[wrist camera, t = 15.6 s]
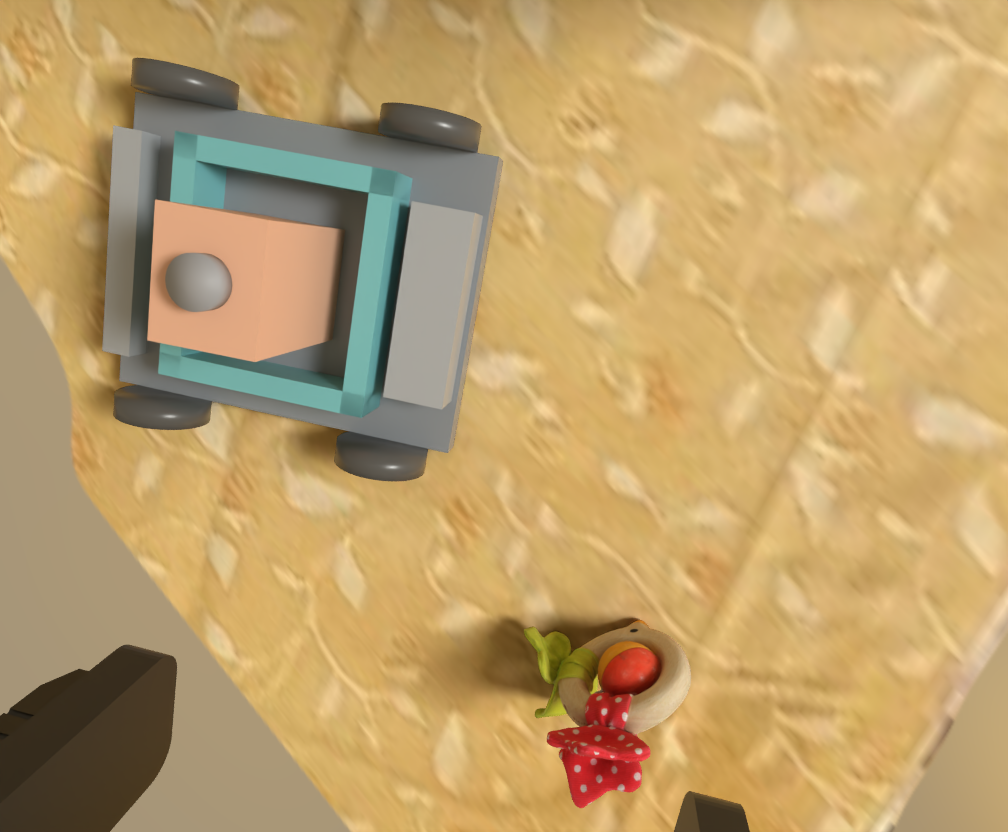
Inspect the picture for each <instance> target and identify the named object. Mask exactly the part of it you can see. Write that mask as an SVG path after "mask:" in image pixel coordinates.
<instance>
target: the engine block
mask: <svg viewBox="0 0 1008 832" xmlns="http://www.w3.org/2000/svg"><path fill="white" fill-rule="evenodd" d="M344 236H345V230H343V229H338V228H332V227H327V226H321V225H316V224H310V223H305V222H299V221H294V220H288V219H283V218H277V217H272V216H266V215H261V214H255V213H248V212H240V211H233V210H226V209H219V208H212V207H205V206H198V205H191V204H184V203H177V202H169V201H162V200H155V210H154V228H153V246H152V264H151V283H150V301H149V319H148V337H147V340H149V341H153V342H158V343H163V344H168V345H173V346H178V347H183V348H188V349H193V350H198V351H203V352H208V353H213V354H218V355H223V356H227V357H232V358H237V359H242V360H247V361H252V362H257V361H260V360H264V359H267V358H271V357H274V356H278V355H281V354H285V353H288V352H292V351H295V350H299V349H302V348H306V347H309V346H313V345H316V344H320V343H323V342H327V341H330V340H332V338H333V330H334V321H335V313H336V304H337V296H338V287H339V279H340V270H341V262H342V253H343V245H344Z"/></svg>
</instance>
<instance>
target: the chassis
mask: <svg viewBox="0 0 1008 832" xmlns="http://www.w3.org/2000/svg"><path fill="white" fill-rule="evenodd" d="M131 86H132V87H134V88H136V89H138V90H141V91H144V92H146V93H150V94H153V95H150V94H144V93H139V92H135V110H134V128H133V129H129V128H124V127H119V126H113V144H112V165H111V185H110V205H109V226H108V246H107V267H106V287H105V307H104V328H103V348H102V351H105V352H109V353H114V354H119V355H121V362H120V380H119V381H122V382H127V383H132V384H136V385H134V386H127V387H123V388H120V389H118V390H116V391H115V394H114V411H113V415H114V417H115V418H116V419H117V420H119V421H121V422H123V423H126V424H129V425H133V426H137V427H143V428H150V429H161V430H181V429H191V428H196V427H200V426H203V425H205V424H207V423H209V421H210V415H211V404H212V401H213V402H218V403H223V404H227V405H232V406H236V407H241V408H245V409H250V410H254V411H259V412H264V413H268V414H273V415H277V416H282V417H286V418H291V419H295V420H300V421H305V422H309V423H314V424H318V425H323V426H327V427H332V428H336V429H341V430H345V431H349V432H345V433H342V434H341V435H339V436H338V437H337V443H336V450H335V458H334V462H335V464H336V465H337V466H338V467H339V468H340V469H342V470H344V471H346V472H348V473H350V474H353V475H356V476H359V477H363V478H368V479H373V480H381V481H407V480H412V479H416V478H419V477H420V476H422V475H423V474H424V471H425V465H426V458H427V452H428V449H432V450H436V451H441V452H446V453H448V452H449V451H450V450H451V449H452V447H453V446H454V440H455V434H456V428H457V423H458V417H459V411H460V405H461V400H462V394H463V388H464V382H465V377H466V371H467V365H468V360H469V354H470V348H471V342H472V337H473V331H474V325H475V319H476V314H477V308H478V302H479V297H480V291H481V285H482V279H483V274H484V268H485V262H486V256H487V251H488V245H489V239H490V233H491V228H492V222H493V216H494V211H495V205H496V199H497V193H498V188H499V182H500V176H501V170H502V165H503V160H502V159H501V158H500V157H497V156H491V155H485V154H480V153H477V151H478V145H479V139H480V133H481V127H482V126H481V125H480V124H479V123H477V122H475V121H473V120H471V119H468V118H466V117H463V116H460V115H457V114H453V113H450V112H446V111H442V110H438V109H434V108H429V107H424V106H418V105H412V104H404V103H383V104H382V105H381V112H380V120H379V127H378V132H379V133H381V134H383V135H385V136H388V137H385V136H379V135H374V134H368V133H363V132H357V131H351V130H346V129H340V128H335V127H329V126H323V125H318V124H312V123H307V122H301V121H295V120H290V119H284V118H279V117H273V116H267V115H262V114H256V113H251V112H245V111H240V110H237V108H238V96H239V85H238V84H236V83H235V82H233V81H231V80H228V79H226V78H223V77H220V76H217V75H215V74H211V73H208V72H205V71H202V70H198V69H194V68H191V67H187V66H183V65H179V64H174V63H170V62H165V61H159V60H154V59H146V58H133V60H132V78H131ZM155 200H162V201H169V202H177V203H184V204H191V205H198V206H205V207H212V208H219V209H226V210H233V211H240V212H248V213H255V214H261V215H266V216H272V217H277V218H283V219H288V220H294V221H299V222H305V223H310V224H316V225H321V226H327V227H332V228H338V229H343V230H345V236H344V245H343V253H342V262H341V270H340V279H339V287H338V296H337V304H336V313H335V321H334V330H333V338H332V340H330V341H327V342H323V343H320V344H316V345H313V346H309V347H306V348H302V349H299V350H295V351H292V352H288V353H285V354H281V355H278V356H274V357H271V358H267V359H264V360H260V361H257V362H252V361H247V360H242V359H237V358H232V357H227V356H223V355H218V354H213V353H208V352H203V351H198V350H193V349H188V348H183V347H178V346H173V345H168V344H163V343H158V342H153V341H149V340H147V337H148V319H149V301H150V283H151V264H152V246H153V228H154V210H155Z"/></svg>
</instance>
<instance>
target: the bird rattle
mask: <svg viewBox="0 0 1008 832" xmlns="http://www.w3.org/2000/svg"><path fill="white" fill-rule="evenodd" d="M524 635H525V637H526V638H527V640H528V641H529V642H530V643H531V645H532V646H533V647H534V648H535V650H536V651H537V653H538V658H537V659H538V666H539V670H540V673H541V676H542V678H543V679H544V680H545V681H546V682H547V683H548V684H553V685H554V688H553V691H552V694H551V697H550V699H549V701H548V704H547V706H546V708H540V709H537V710H536V711H535V717H536V718H542V717H549V716H560V715H564V714H568V715H569V717H570V718H571V719H572V720H573V721H574V722H575V723H576V724H577V725H579V726H580V727H576V728H566V729H562V730H557V731H551V732H549V733H548V735H547V743H548V744H549V745H551V746H553V747H556V748H562V749H561V750H560V752H559V757H560V759H561V760H562V761H563V764H564V767H565V769H566V773H567V778H568V783H569V788H570V793H571V797H572V800H573V802H574V804H575V805H576V806H577V807H579V808H583V807H585V806H587V805H588V804H590V803H592V802H593V801H594V800H596V799H597V798H599V797H600V796H602V795H603V794H604V793H606V792H607V791H610V790H619V791H622V792H633V791H635V790H636V789H638V788H639V787H640V785H641V775H642V770H641V766H640V763H639V761H643V760H646V759H647V758H649V756H650V748H649V746H647V745H646V744H645V743H644V742H643V741H642V740H640V739H639V738H638V737H637V733H640V732H643V731H645V730H648V729H650V728H652V727H654V726H656V725H658V724H659V723H661V722H662V721H664V720H665V719H666V718H668V717H669V716H670V715H671V714H672V713H673V712H674V711H675V710H676V709H677V708H678V707H679V706H680V705H681V703H682V702H683V700H684V699H685V697H686V695H687V693H688V691H689V687H690V683H691V670H690V666H689V662H688V659H687V656H686V654H685V652H684V651H683V649H682V648H681V646H680V645H679V644H678V643H677V642H676V641H675V640H674V639H672V638H671V637H670V636H668V635H666V634H664V633H662V632H660V631H657V630H654V629H650V628H649V627H648V625H647V624H646V623H645V622H644V621H642V620H637V621H635V622H633V623H632V624H630V625H629V626H627V627H624V628H620V629H616V630H613V631H610V632H607V633H605V634H602V635H600V636H598V637H596V638H594V639H592V640H591V641H589V642H587V643H586V644H584V645H583V646H582V647H580V648H577V649H575V650H574V651H573V652H572V654H571V643H570V640H569V639H568V637H567V636H566V635H564V634H562V633H560V632H556V631H554V632H551V633H549V634H548V635H547V636H545V637H542V636H541V635H540V633H539V632H538V631H537V629H536V628H535V627H530V628H527V629H524ZM597 674H598V677H597ZM598 680H599V684H600V686H601V690H600V691H597V687H598ZM602 692H604V693H602Z"/></svg>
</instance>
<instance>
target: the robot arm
mask: <svg viewBox="0 0 1008 832" xmlns="http://www.w3.org/2000/svg"><path fill="white" fill-rule="evenodd" d="M176 674H177V663H176V660H175V658H174V657H173V656H170V655H167V654H163V653H159V652H155V651H151V650H147V649H143V648H140V647H136V646H132V645H123V646H121V647H119V648H118V649H116V650H115V651H114V652H113V653H111V654H110V655H109V656H108V657H106V658H105V659H104V660H103V661H101V662H100V663H99V664H98V665H96V666H95V667H94V668H93V669H91V670H90V671H85V670H82V669H78V670H75V671H73V672H71V673H68V674H66V675H64V676H61V677H59V678H57V679H54V680H52V681H50V682H47V683H45V684H43V685H40V686H39V687H38V688H36V689H35V690H34V691H32V692H31V693H30V694H29V695H27V696H26V697H25V698H23V699H22V700H21V701H19V702H18V703H17V704H15V705H14V706H13V707H11V708H10V710H9V712H8V713H7V714H5V713H3V714H2V715H1V716H0V832H110V831H111V830H112V828H113V827H114V826H115V825H116V824H117V823H118V822H119V820H120V819H121V818H122V817H123V816H124V815H125V813H126V812H127V811H128V810H129V809H130V807H132V805H133V804H134V803H135V802H136V801H137V800H138V798H139V797H140V796H141V795H142V794H143V793H144V792H145V790H146V789H147V788H148V787H149V786H150V785H151V783H152V782H153V781H154V779H155V778H156V776H157V775H158V773H159V771H160V769H161V768H162V766H163V764H164V761H165V759H166V757H167V754H168V751H169V747H170V743H171V737H172V725H173V712H174V700H175V687H176ZM674 832H750V831H749V827H748V823H747V819H746V815H745V812H744V809H743V807H742V806H741V805H740V804H738V803H734V802H730V801H726V800H722V799H718V798H714V797H711V796H707V795H703V794H699V793H695V792H691V791H689V792H687V794H686V795H685V797H684V800H683V803H682V806H681V809H680V813H679V816H678V820H677V823H676V827H675V830H674Z"/></svg>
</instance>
